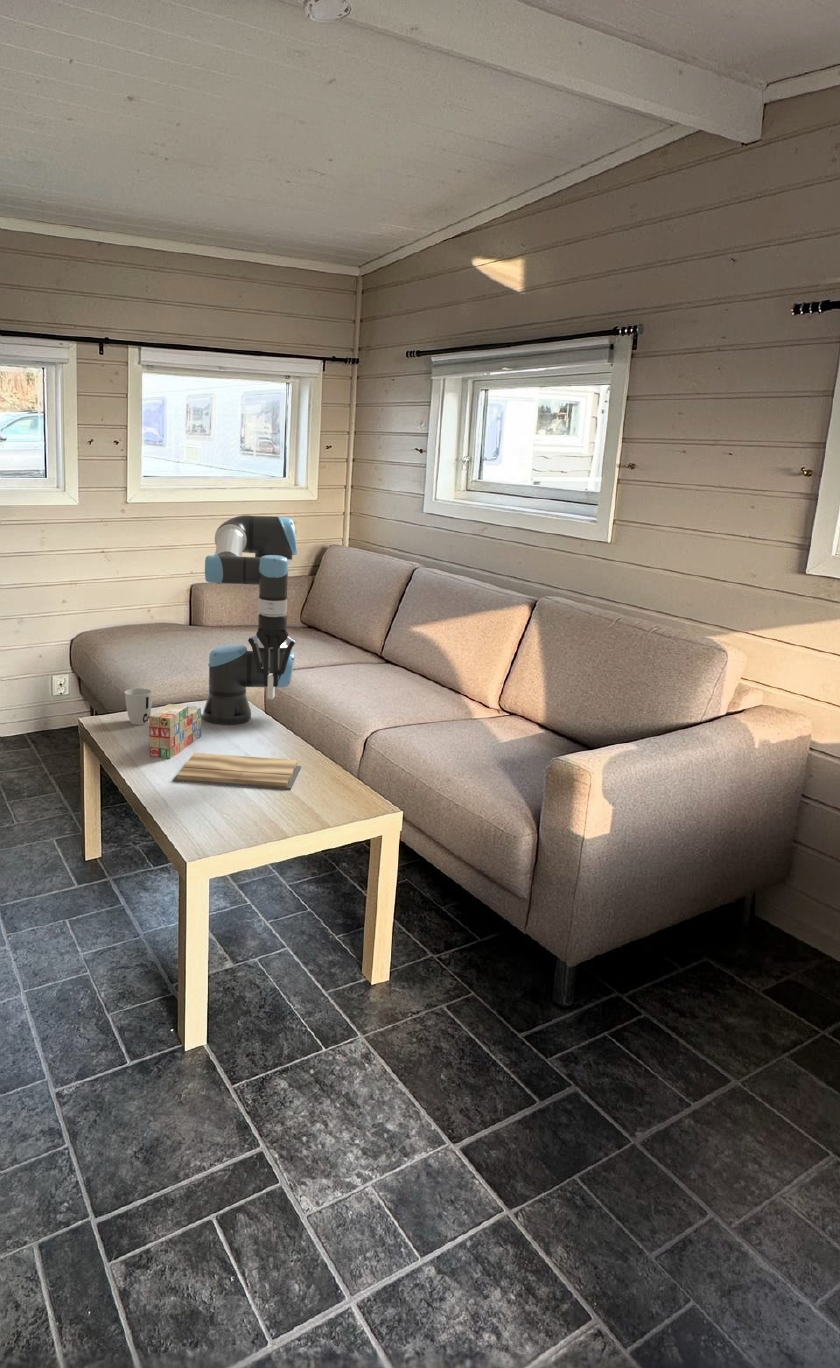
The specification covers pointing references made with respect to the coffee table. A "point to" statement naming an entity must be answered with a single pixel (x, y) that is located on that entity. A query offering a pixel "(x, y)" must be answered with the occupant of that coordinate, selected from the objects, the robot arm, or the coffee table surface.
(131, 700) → the cup
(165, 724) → the stack of blocks
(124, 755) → the coffee table surface
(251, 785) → the underlay
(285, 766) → the board
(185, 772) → the laid plank
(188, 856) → the coffee table surface
